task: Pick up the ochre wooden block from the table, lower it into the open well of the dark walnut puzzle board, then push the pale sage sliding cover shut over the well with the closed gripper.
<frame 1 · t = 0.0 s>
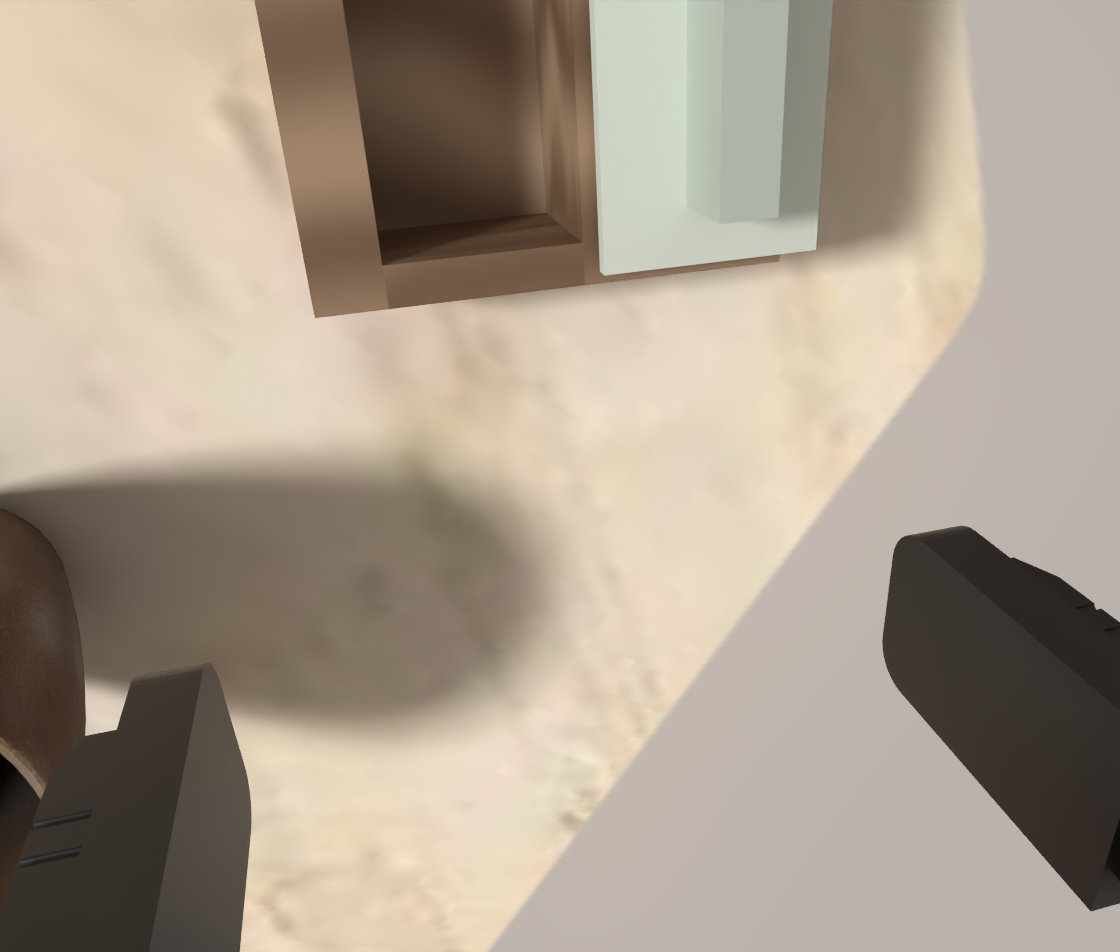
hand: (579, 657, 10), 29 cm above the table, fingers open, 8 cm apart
slide cover: (731, 9, 27), point 9 cm above the table, slide at 8.0 cm
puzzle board: (505, 23, 34), on the table
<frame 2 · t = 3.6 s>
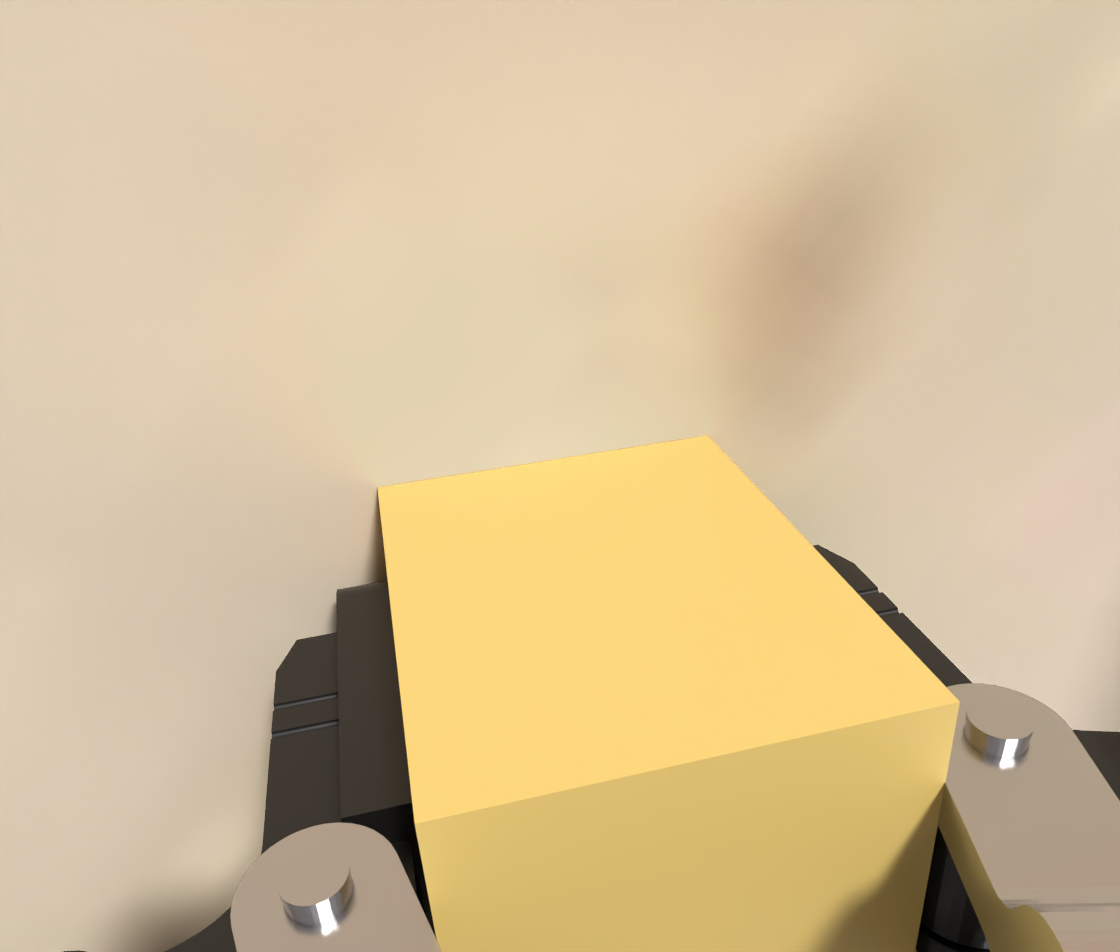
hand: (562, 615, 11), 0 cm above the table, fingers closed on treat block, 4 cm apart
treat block: (558, 600, 12), on the table, touching gripper
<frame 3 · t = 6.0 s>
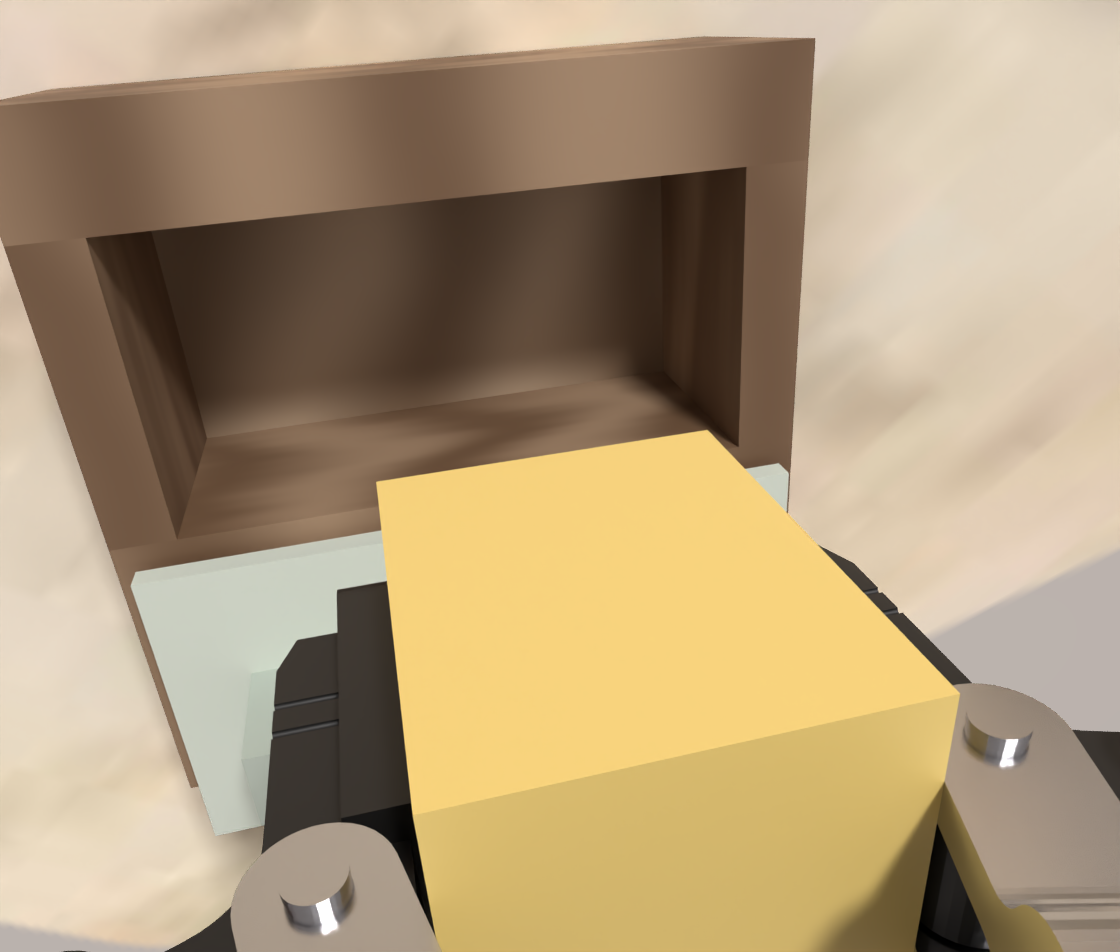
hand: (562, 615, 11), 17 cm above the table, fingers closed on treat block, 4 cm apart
slide cover: (504, 687, 22), point 9 cm above the table, slide at 8.0 cm
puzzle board: (439, 367, 27), on the table
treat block: (558, 595, 12), point 17 cm above the table, touching gripper
when the fingers open (4 cm above the table, at t = 8.8 s): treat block drops 3 cm, resting on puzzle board.
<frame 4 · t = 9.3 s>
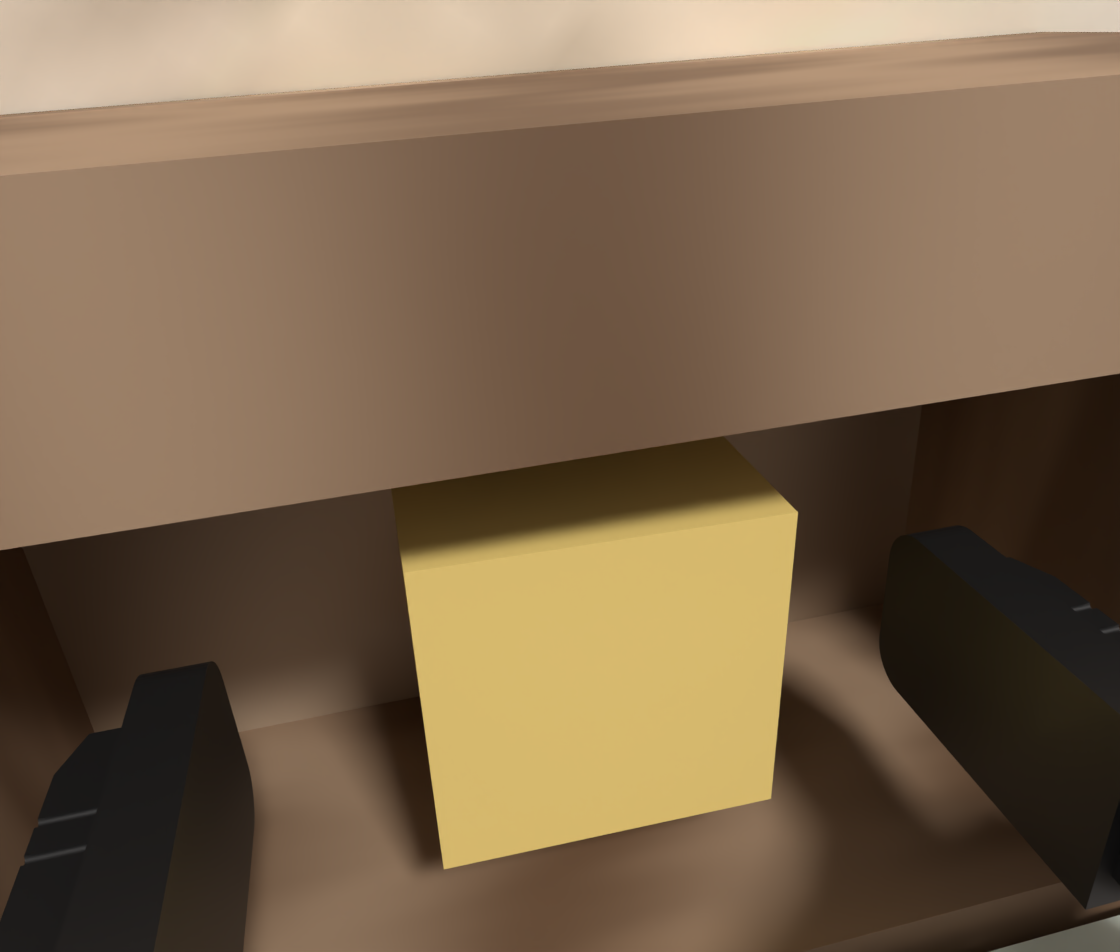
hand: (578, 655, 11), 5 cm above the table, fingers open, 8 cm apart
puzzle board: (521, 610, 16), on the table
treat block: (522, 492, 14), resting on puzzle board
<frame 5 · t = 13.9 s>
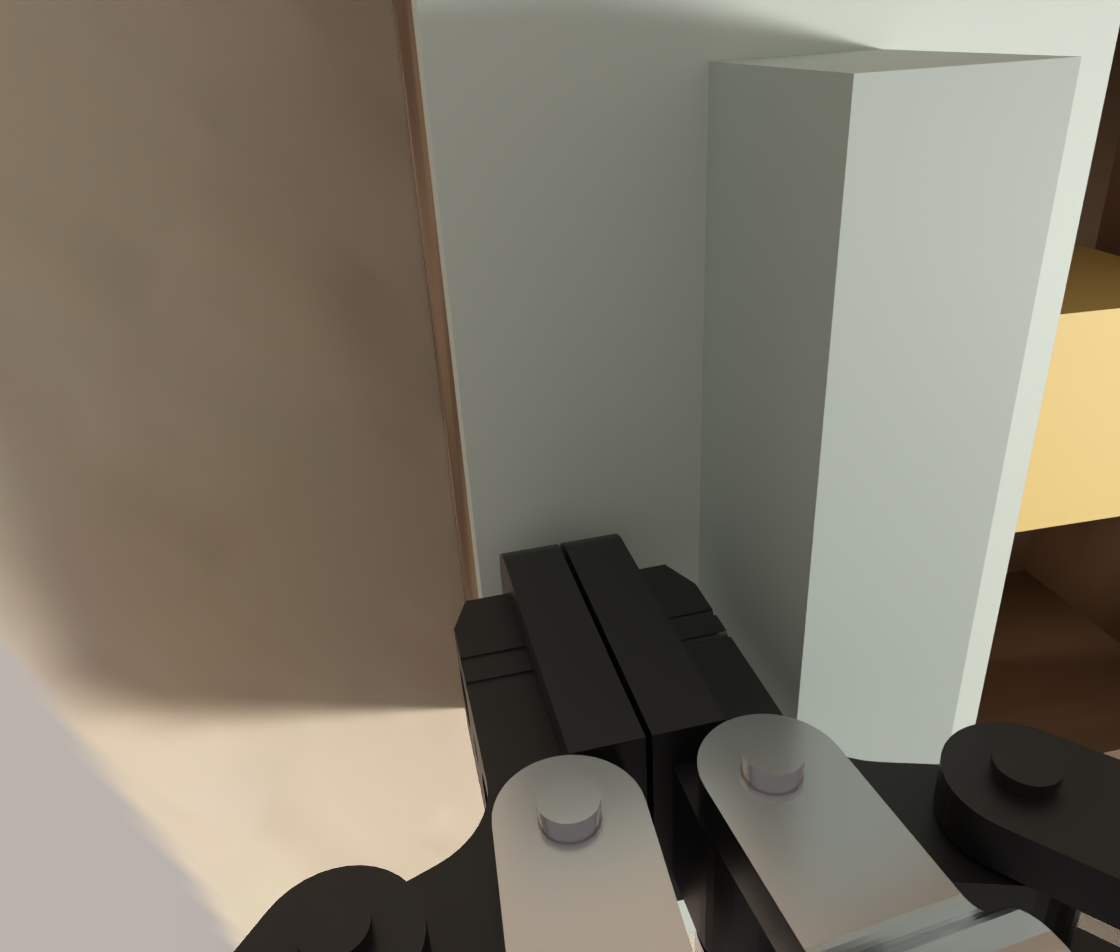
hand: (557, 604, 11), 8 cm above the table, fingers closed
slide cover: (808, 581, 11), point 9 cm above the table, slide at 7.2 cm, touching gripper
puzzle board: (826, 334, 20), on the table
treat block: (943, 333, 20), resting on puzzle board
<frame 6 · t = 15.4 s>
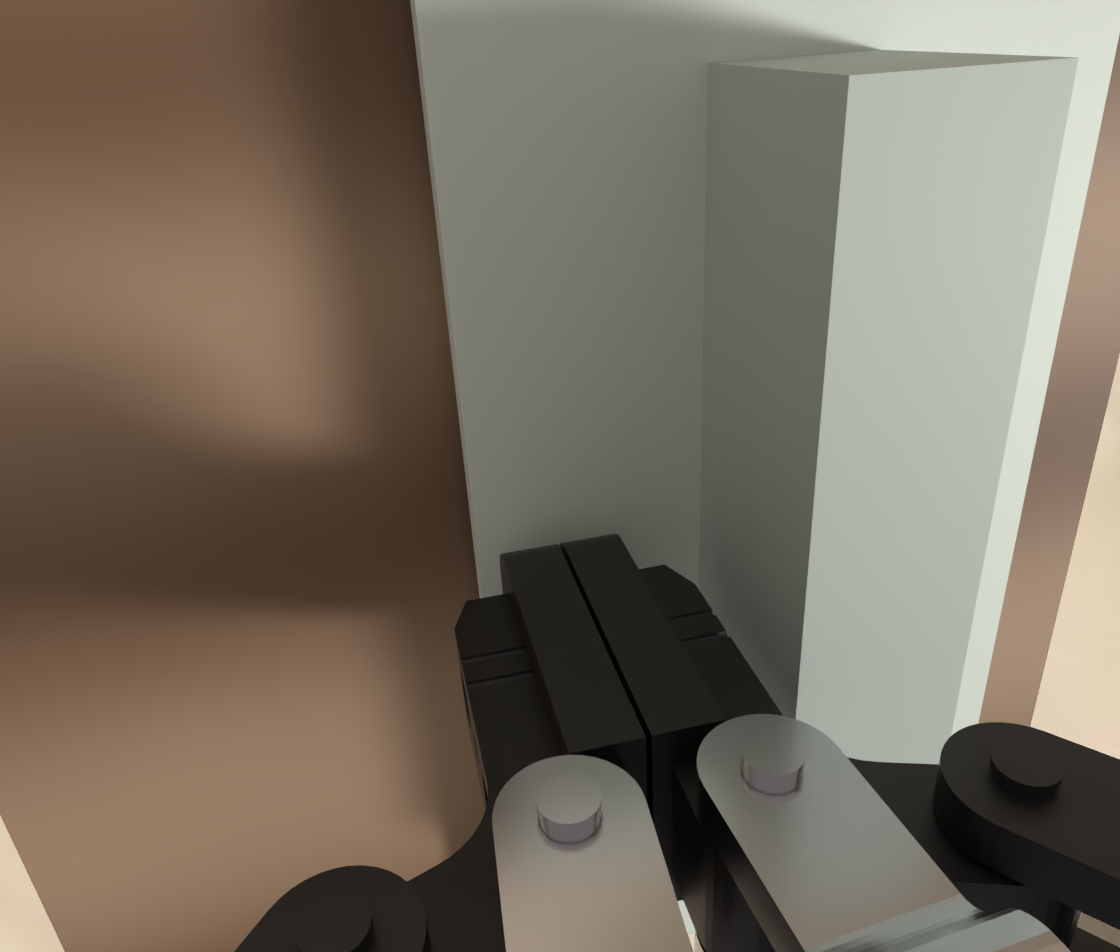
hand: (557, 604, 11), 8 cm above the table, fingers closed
slide cover: (808, 581, 11), point 9 cm above the table, slide at -0.1 cm, touching gripper
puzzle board: (500, 377, 18), on the table
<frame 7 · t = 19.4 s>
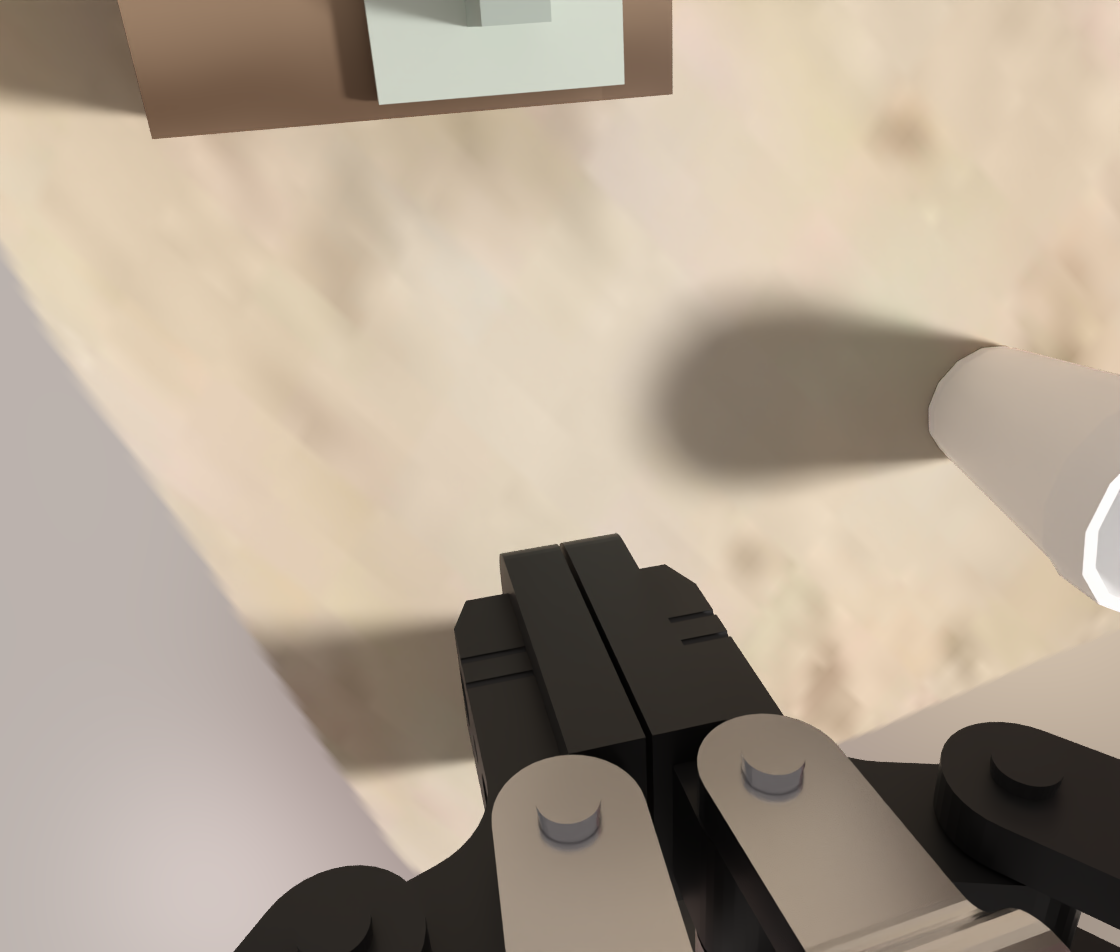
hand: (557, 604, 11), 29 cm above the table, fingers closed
foam cup: (979, 401, 48), on the table
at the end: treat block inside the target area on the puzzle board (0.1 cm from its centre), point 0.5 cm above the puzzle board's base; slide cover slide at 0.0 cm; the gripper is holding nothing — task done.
